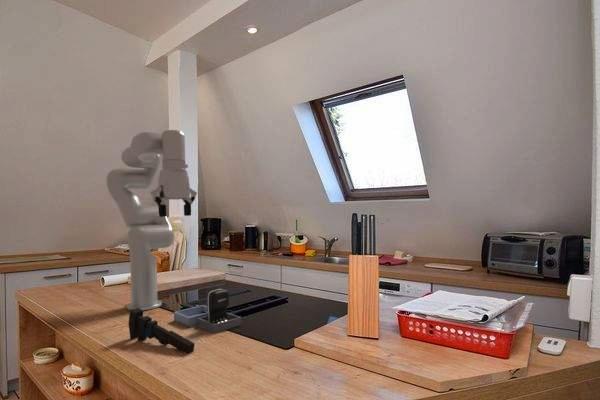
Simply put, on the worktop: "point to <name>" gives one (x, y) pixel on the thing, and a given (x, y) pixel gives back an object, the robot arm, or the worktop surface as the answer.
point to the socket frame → (232, 322)
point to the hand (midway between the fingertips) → (175, 216)
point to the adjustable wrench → (156, 332)
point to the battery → (217, 305)
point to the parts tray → (190, 315)
